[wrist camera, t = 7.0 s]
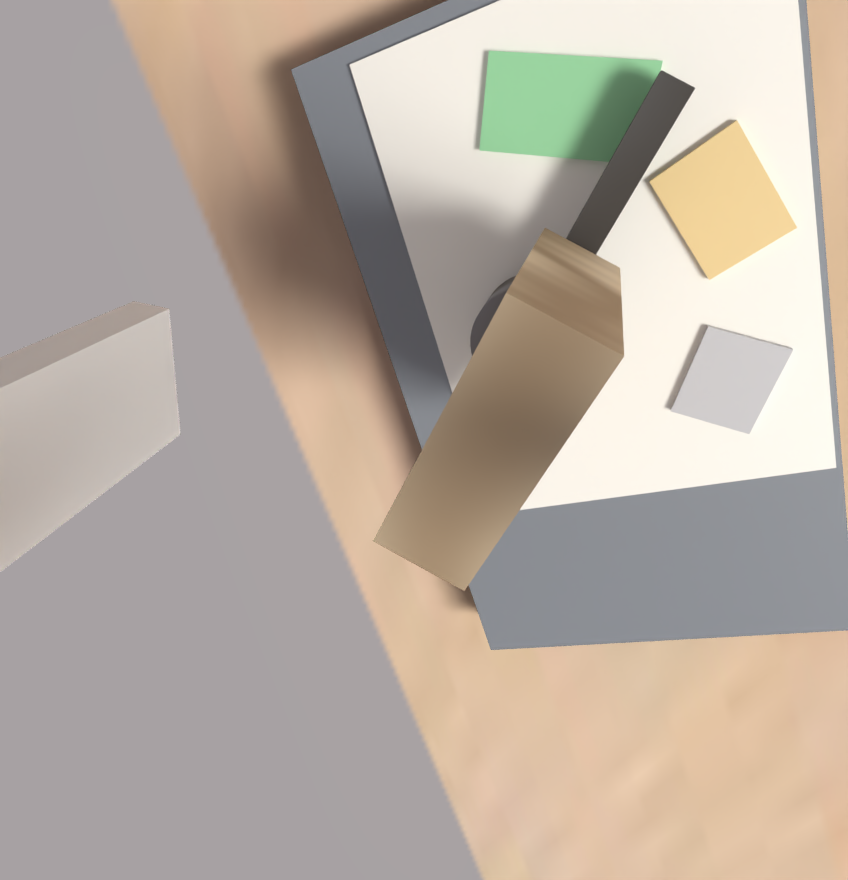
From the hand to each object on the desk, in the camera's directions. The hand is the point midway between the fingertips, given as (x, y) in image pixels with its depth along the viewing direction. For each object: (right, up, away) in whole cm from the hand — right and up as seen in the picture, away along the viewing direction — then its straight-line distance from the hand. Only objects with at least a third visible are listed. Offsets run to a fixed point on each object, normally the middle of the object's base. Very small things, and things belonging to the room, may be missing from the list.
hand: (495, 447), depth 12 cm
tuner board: (+5, +3, +10) cm, 12 cm away
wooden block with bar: (+3, +5, +7) cm, 9 cm away
